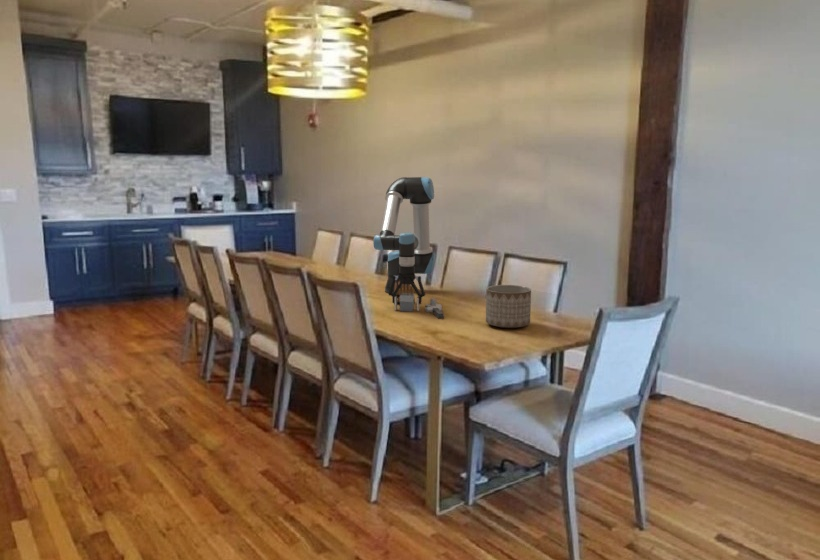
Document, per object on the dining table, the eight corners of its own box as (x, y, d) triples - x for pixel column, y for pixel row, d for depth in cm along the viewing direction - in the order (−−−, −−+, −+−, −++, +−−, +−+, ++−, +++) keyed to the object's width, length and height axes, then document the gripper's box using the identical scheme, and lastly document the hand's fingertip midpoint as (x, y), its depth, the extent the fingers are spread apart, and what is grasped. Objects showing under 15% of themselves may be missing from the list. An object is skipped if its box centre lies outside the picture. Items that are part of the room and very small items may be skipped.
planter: (477, 322, 277) (478, 286, 274) (514, 318, 285) (515, 283, 282) (500, 332, 260) (501, 294, 257) (538, 328, 267) (540, 290, 264)
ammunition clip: (413, 302, 320) (413, 280, 318) (414, 303, 318) (414, 280, 316) (393, 303, 317) (393, 281, 315) (394, 304, 315) (394, 281, 313)
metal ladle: (423, 309, 303) (423, 297, 302) (439, 309, 305) (439, 297, 304) (432, 319, 284) (432, 306, 283) (449, 318, 286) (449, 305, 284)
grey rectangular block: (402, 308, 306) (401, 292, 304) (414, 309, 305) (414, 293, 303) (399, 311, 300) (399, 295, 299) (412, 311, 299) (412, 295, 298)
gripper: (382, 265, 297) (382, 310, 300) (429, 266, 293) (429, 312, 297) (385, 263, 304) (385, 307, 308) (431, 264, 300) (431, 309, 304)
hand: (406, 309), depth 302 cm, fingers open, 10 cm apart
